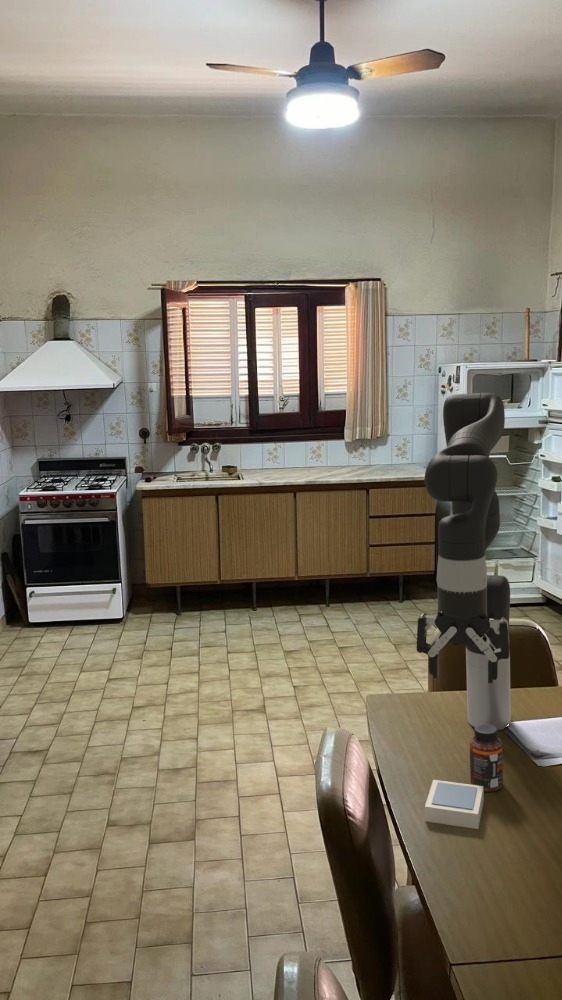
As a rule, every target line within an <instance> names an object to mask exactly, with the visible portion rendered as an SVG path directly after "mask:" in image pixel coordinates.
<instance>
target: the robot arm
mask: <svg viewBox="0 0 562 1000" xmlns="http://www.w3.org/2000/svg"><path fill="white" fill-rule="evenodd" d="M505 417H506V416H505V405H504V401H503V399H502V397H501V396H500V395H499V394H497V393H493V392H476V393H474V392H473V393H459V394H457V393H456V394H451V395H448V396H447V397H446V399H445V401H444V403H443V408H442V420H443V429H444V436H445V443H446V447H444V448H443V449H442V450H439V452H437V453H436V454H435V455H434V456H433V457H432V458H431V459H430V461H429V462H428V464H427V467H426V469H425V473H424V487H425V489H426V490H425V491H427V493H428V495H429V496H430V497H431V498H432V499H434V500H436V501H438V502H444V503H445V502H447V503H449V502H451V511H452V515H448V516H445V517H443V518H441V519H440V520H439V522H438V528H437V530H438V531H437V537H438V538H437V539H438V541H437V542H438V546H437V547H438V556H437V557H438V559H437V568H436V571H437V573H436V584H437V615H435V616H434V615H428V614H427V613H425V612H421V613H420V614H419V617H418V619H417V628H416V629H417V632H416V651H417V653H419V654H421V653H423V654H425V655H427V657H428V673H429V675H430V676H431V675H432V677H433V678H432V679H439V675H440V655H439V654H440V653H439V652H440V651H441V650H442V649H443V648H444V647H445V646H446V644H447V643H450V644H451V645H452V646H459V645H460V646H461V645H463V646H465V665H466V666H465V667H466V705H467V706H466V709H467V710H466V712H467V713H466V714H467V722H468V724H469V725H470V726H471V727H473V728H475V727H476V726H477V725H480V724H489V725H492V726H494V727H496V729H497V731H501V730H505V729H506V728H505V727H506V726H507V725H508V724H510V723H511V721H512V720H511V719H512V718H511V717H512V715H511V713H512V712H511V706H512V704H511V656H510V655H511V654H510V653H511V652H510V651H511V650H510V648H511V647H510V646H511V645H510V644H511V643H510V611H511V610H510V608H511V585H510V581H509V580H508V577H506V576H504V575H492V574H488V569H487V568H488V566H487V561H486V550H488V548H489V546H490V545H491V544H492V542H493V541H494V540H495V538H496V537H497V536H498V533H499V531H500V526H501V514H500V511H501V510H500V499H499V496H498V493H497V491H496V487H497V486H496V485H497V481H498V470H497V466H496V464H495V462H494V461H493V460H492V458H490V453H491V451H492V450H493V449H494V447H496V446H497V443H498V442H500V440H501V438H502V436H503V433H504V432H505V431H504V429H505V421H506V418H505ZM433 625H435V627H436V628H437V630H438V631H439V632H440V633H439V634H438V635H437V637H436V639H435V640H434V641H433V642H432V643H431V644H430V643H428V642H427V635H428V634H427V631H428V630H430V629H431V627H432V626H433ZM511 724H512V723H511ZM511 724H510V725H511ZM504 728H505V729H504Z"/></svg>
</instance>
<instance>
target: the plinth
mask: <svg viewBox="0 0 562 1000" xmlns="http://www.w3.org/2000/svg"><path fill="white" fill-rule="evenodd" d="M484 792H485V791H484V788H483V786H478V785H472V784H470V783H469V784H467V783H461V782H455V781H446V780H439V779H432V783H431V785H430V788H429V792H428V794H427V795H428V796H427V799H426V802H425V805H424V816H425V817H424V820H425V821H424V822H429V823H435V824H441V825H447V826H456V827H460V828H461V827H462V828H468V829H474V830H475V829H476V830H479V827H480V823H481V817H482V813H483V807H484V800H485V795H484Z"/></svg>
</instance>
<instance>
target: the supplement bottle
mask: <svg viewBox="0 0 562 1000" xmlns="http://www.w3.org/2000/svg"><path fill="white" fill-rule="evenodd" d="M473 734H474V735H473V736H472V737H471V738H470V739H469V772H470V773H469V775H470V776H469V778H470V779H469V780H470V783H471V784H470V785H478V786H483V788H484V792H487V793H489V792H490V793H491V792H496V791H498V790H500V789H502V787H503V785H504V783H503V782H504V768H503V767H504V766H503V763H504V762H503V761H504V758H503V756H504V754H503V752H504V751H503V742H502V740H501V739H500V737H498V730H497V729H496V727H494V726H492V725H489V724H480V725H477V726H476V727H474V733H473Z"/></svg>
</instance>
